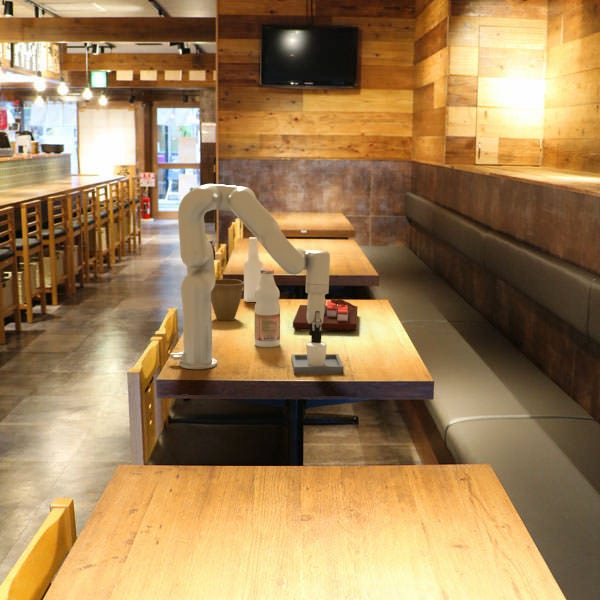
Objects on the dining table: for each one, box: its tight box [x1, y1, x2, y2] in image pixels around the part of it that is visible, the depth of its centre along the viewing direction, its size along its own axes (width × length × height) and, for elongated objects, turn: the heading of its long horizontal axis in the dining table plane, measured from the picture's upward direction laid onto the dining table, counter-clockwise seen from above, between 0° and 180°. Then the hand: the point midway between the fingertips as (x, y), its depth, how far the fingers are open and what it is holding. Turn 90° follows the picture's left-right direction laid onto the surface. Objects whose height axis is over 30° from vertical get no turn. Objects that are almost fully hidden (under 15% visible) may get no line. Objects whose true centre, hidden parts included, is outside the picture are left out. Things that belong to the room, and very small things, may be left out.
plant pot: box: [211, 278, 244, 322], centre depth 349 cm, size 15×15×16 cm
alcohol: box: [243, 236, 264, 303], centre depth 386 cm, size 9×9×30 cm
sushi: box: [292, 298, 358, 332], centre depth 342 cm, size 25×35×12 cm
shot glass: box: [305, 341, 327, 366], centre depth 276 cm, size 7×7×7 cm
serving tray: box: [290, 353, 345, 376], centre depth 277 cm, size 16×16×2 cm
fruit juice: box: [253, 268, 281, 348], centre depth 305 cm, size 9×9×28 cm
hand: (314, 339), depth 275 cm, fingers open, 9 cm apart
